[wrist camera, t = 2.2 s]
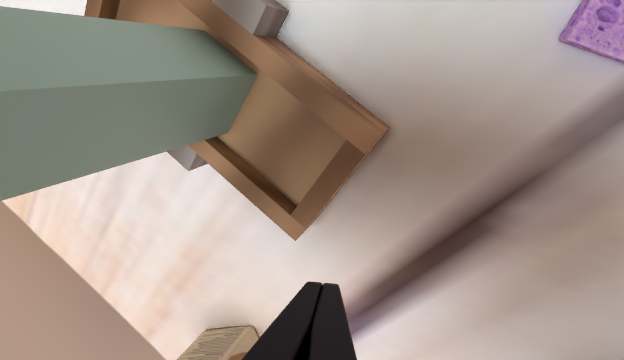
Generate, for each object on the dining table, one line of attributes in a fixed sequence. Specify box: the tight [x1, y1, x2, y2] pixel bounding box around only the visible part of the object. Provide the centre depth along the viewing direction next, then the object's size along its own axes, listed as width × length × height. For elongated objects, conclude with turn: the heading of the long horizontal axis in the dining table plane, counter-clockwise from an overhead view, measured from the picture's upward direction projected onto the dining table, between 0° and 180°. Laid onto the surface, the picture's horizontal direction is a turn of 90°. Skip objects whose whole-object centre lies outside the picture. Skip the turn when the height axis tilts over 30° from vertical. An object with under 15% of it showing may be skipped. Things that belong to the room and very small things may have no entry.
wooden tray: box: [84, 0, 389, 241], centre depth 21 cm, size 20×12×3 cm, turn 56°
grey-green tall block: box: [0, 6, 258, 201], centre depth 15 cm, size 4×4×13 cm
